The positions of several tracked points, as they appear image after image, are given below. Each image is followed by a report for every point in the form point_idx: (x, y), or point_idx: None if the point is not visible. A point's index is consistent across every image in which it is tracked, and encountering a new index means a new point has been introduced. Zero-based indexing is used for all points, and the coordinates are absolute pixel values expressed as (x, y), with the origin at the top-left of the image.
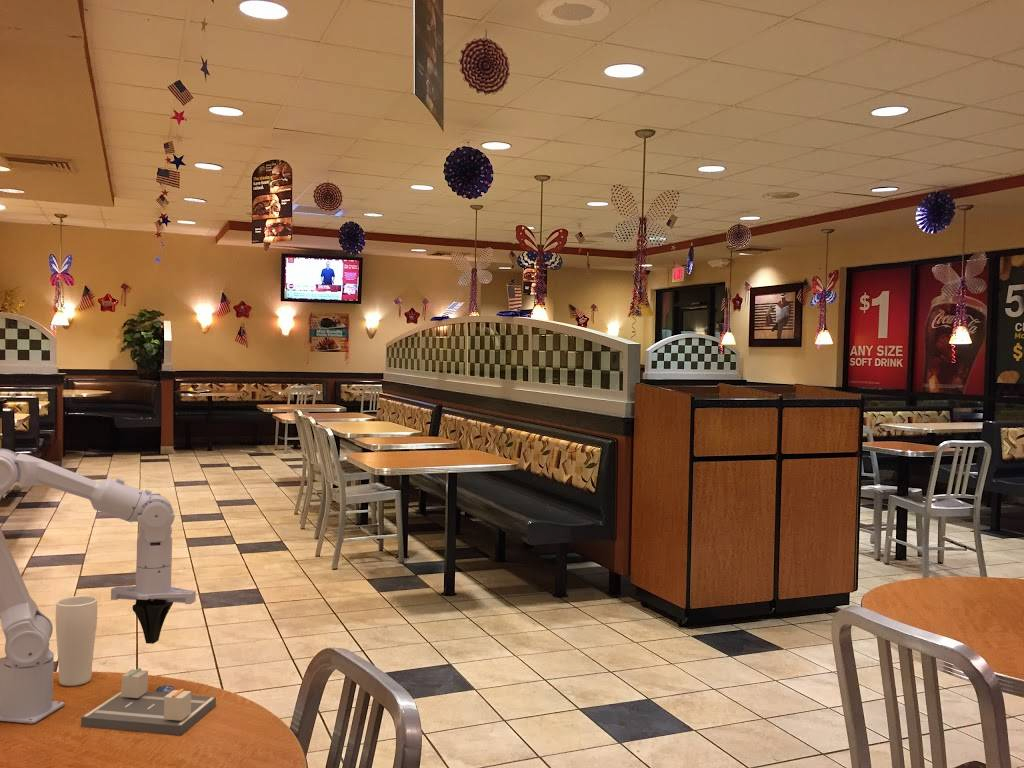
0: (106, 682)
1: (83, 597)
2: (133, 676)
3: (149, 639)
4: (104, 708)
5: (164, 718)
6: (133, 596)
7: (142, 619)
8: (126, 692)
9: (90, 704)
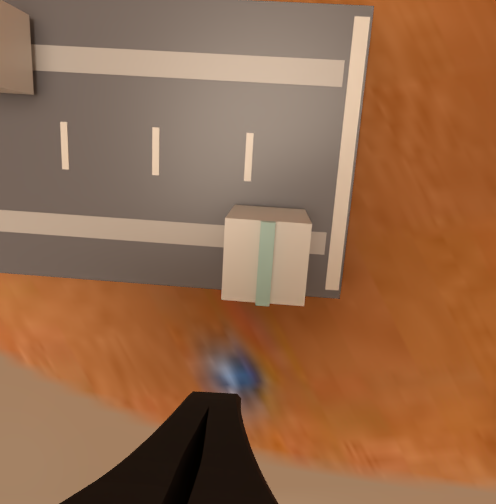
0: (459, 408)
1: None
2: (251, 223)
3: (204, 401)
4: (324, 109)
5: (25, 15)
6: None
7: (232, 500)
8: (283, 210)
9: (426, 219)
